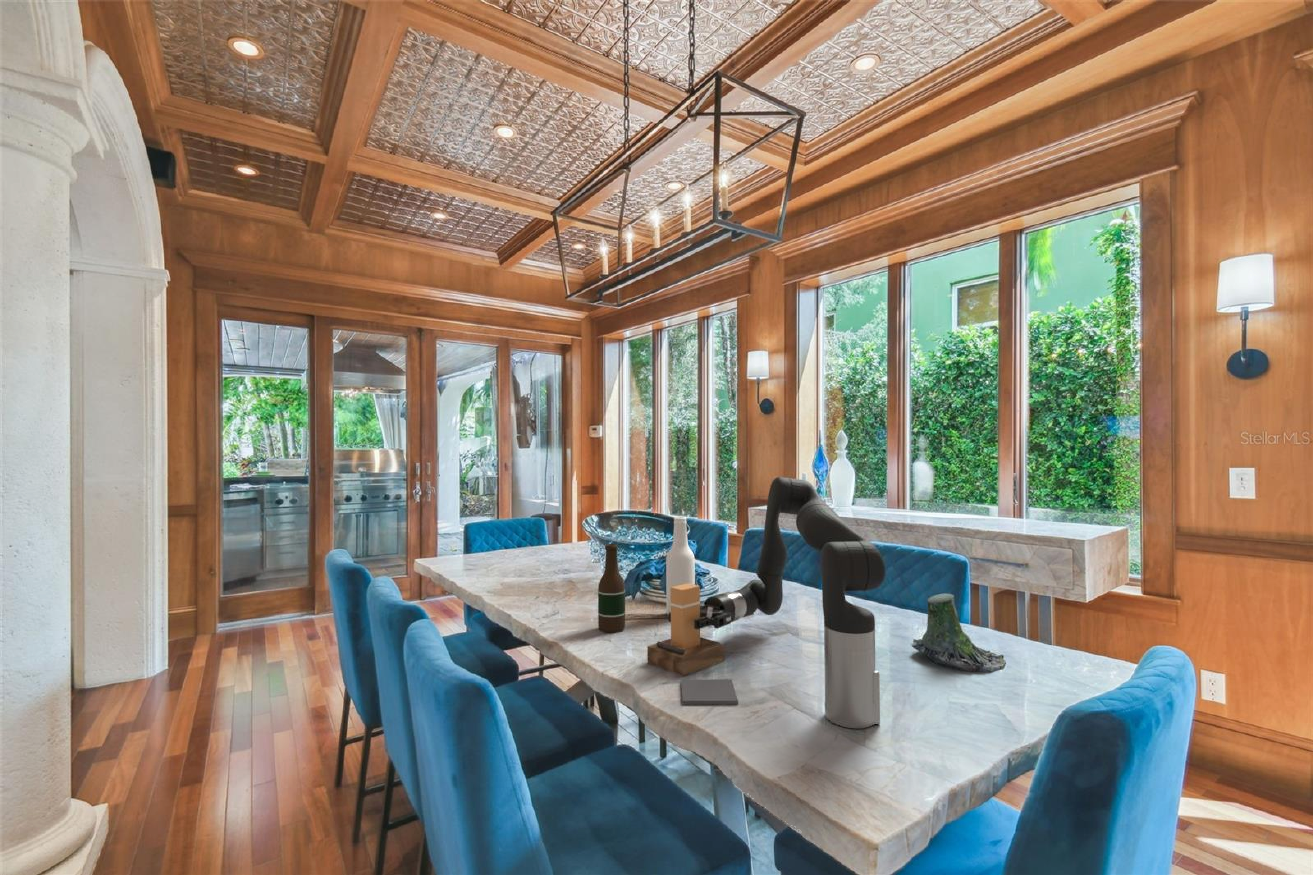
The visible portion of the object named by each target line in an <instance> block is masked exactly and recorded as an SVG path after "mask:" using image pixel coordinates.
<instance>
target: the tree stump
mask: <svg viewBox="0 0 1313 875" xmlns="http://www.w3.org/2000/svg"><path fill="white" fill-rule="evenodd" d="M955 605H956V604H955V596H954V594H951V593H940V594H935V595H932V596H930V597H928V598H927V623H926V624H927V626H926V630H925V632H924V634H923V636H922V637H921V638H922V639H921V638H918V639H913V642H911V643H910V647H912V648H914V649H915V650H916V651H918V652H920V653H921V654H923V655H925V656H926V657H928V658H929V659H930V660H932V661H933V662H934V663H935V664H936V665H940V666H943V667H946V668H947V667H948V668H951V669H955V668H956V669H955V670H958V671H959V670H960V671H965V672H973V673H974V672H975V673H978V672H979V673H982V672H983V673H985V672H987V673H988V672H989V673H991V672H994V671H1001V670H1003V669H1004V667H1005V666H1006V663H1007V661H1006V660H1005V659H1004V658H1005V656H1004V654H996V653H994V652H991V651H990V650H986V649H982V648H980V647H979V646H976V645H975V644H974V643H973V642H972V639H970V636H969V635H968V634H966V633H965V632H964V631H963V628H962V626H961V623H960V620H959V615H958V611H957V609H956V606H955Z"/></svg>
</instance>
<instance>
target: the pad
mask: <svg viewBox="0 0 1313 875" xmlns="http://www.w3.org/2000/svg"><path fill="white" fill-rule="evenodd" d="M680 683H681V685H680V686H681V697H682V705H683V706H684V705H685V706H689V705H690V706H693V705H695V706H700V705H701V706H704V705H705V706H707V705H708V706H713V705H712V704H714V705H715V706H716V705H717V704H719V705H720V706H725V705H726V706H728V705H729V706H731V705H732V706H736V705H737V704H738V705H739V700H738V697H737V693H736V689H735V687H734V683H733V679H731V678H730V679H729V678H727V679H726V678H725V679H722V678H721V679H719V678H718V679H712V678H709V679H708V678H707V679H706V678H705V679H701V678H700V679H698V678H697V679H691V678H690V679H685V678H684V679H680ZM722 704H724V705H722ZM719 705H717V706H719Z"/></svg>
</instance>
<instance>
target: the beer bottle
mask: <svg viewBox="0 0 1313 875" xmlns="http://www.w3.org/2000/svg"><path fill="white" fill-rule="evenodd" d="M618 548H619V547H618V544H616V543H607V544H606V545H605V546H604V549H605V558H604V559H605V562H604V572H603V574H602V576H601V578H600V579H599V583H598V588H597V589H598V590H597V599H598V600H597V609H598V610H597V616H598V617H597V619H598V620H597V621H598V622H597V623H598V630H599V631H600V632H602V633H604V634H607V633H608V634H617V633H620V632H623V631H624V629H625V627H626V585H625V583H626V582H625V580H624V578H623V576H622V575H621V572H620V570H619V562H618V561H619V560H618Z"/></svg>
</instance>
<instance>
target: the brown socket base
mask: <svg viewBox="0 0 1313 875" xmlns="http://www.w3.org/2000/svg"><path fill="white" fill-rule="evenodd" d="M724 645H725V643H723V642H719V641H715V640H711V639H708V638H705V637H702V636H700V645H699V646H696V647H693V648H691V649H688V650H684V649H681V648H678V647H675V646H672V645H671V638H669V639H665V640H662V641H660V640H658V641H657V642H656V643H653V644H650V645H647V646H646V649H647V654H646V656H647V659H646V660H647V663H648V664H649V665H652V666H655V667H658V668H660V669H662V670H665V671H668V672H671V673H674V674H677V675H680V676H683V677H686V676H689V675H692V674H694V673H696V672H699V671H702V670H704V669H707V668H708V667H711V666H714V665H716V664H718V663H721V662H724V661H725V655H724V654H725V651H724V650H725V646H724Z"/></svg>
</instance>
